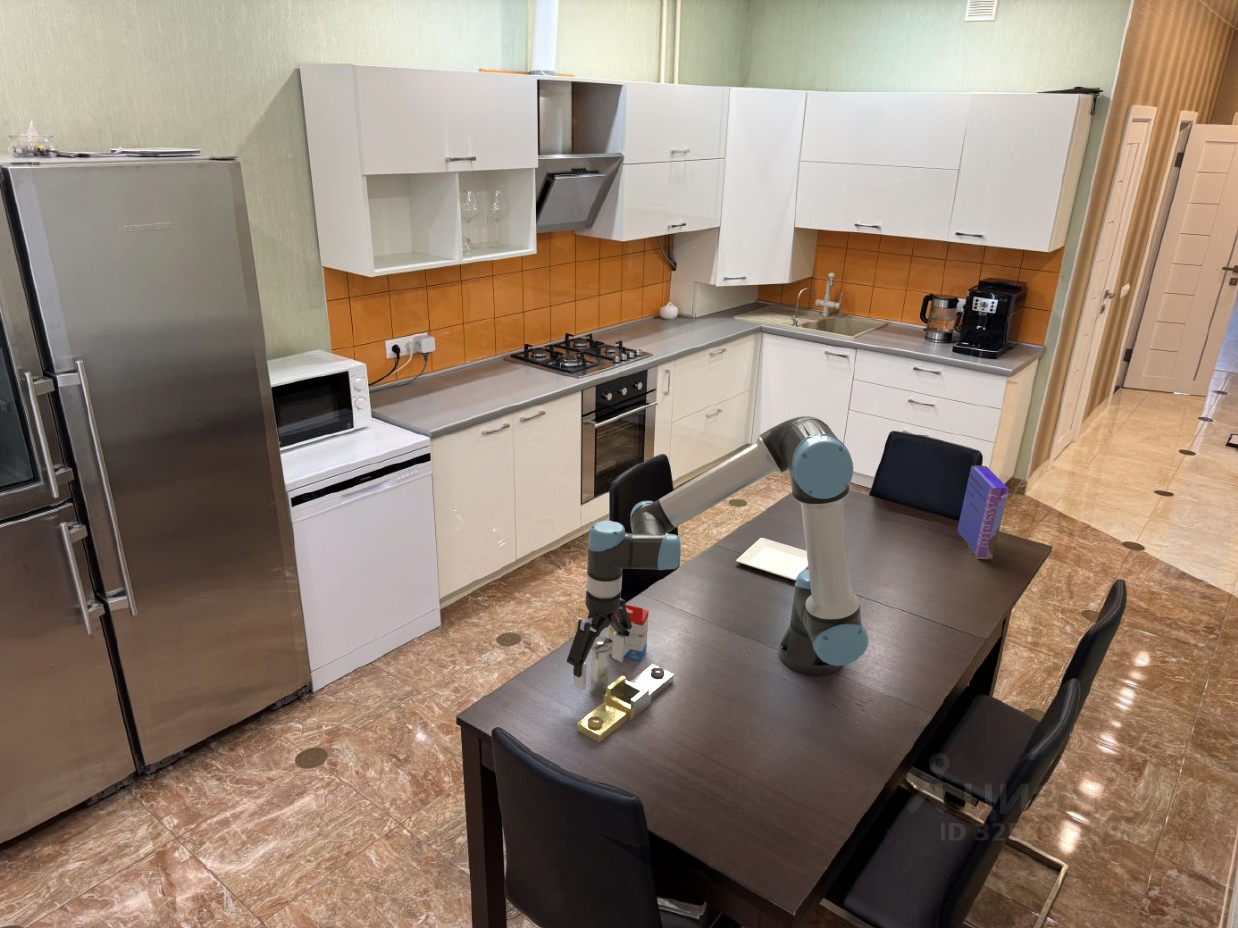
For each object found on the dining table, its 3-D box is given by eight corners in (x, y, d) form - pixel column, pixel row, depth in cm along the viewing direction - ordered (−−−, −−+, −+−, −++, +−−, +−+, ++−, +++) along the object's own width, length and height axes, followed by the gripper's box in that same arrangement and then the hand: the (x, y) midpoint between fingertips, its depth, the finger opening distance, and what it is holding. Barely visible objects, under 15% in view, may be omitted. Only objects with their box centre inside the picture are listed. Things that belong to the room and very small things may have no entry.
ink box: (646, 651, 211) (650, 599, 206) (640, 662, 207) (644, 609, 201) (614, 643, 214) (616, 591, 208) (607, 654, 209) (609, 601, 204)
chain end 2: (675, 682, 200) (677, 666, 198) (633, 718, 188) (634, 701, 186) (649, 670, 204) (650, 653, 202) (606, 703, 192) (607, 687, 190)
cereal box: (992, 560, 264) (1009, 488, 255) (976, 559, 264) (993, 487, 255) (971, 534, 280) (986, 465, 271) (956, 533, 280) (971, 465, 271)
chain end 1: (648, 705, 192) (649, 689, 190) (601, 744, 179) (602, 726, 178) (621, 692, 196) (622, 675, 194) (574, 728, 183) (574, 711, 182)
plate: (817, 560, 259) (818, 554, 258) (794, 585, 244) (795, 579, 244) (760, 542, 268) (761, 536, 267) (734, 566, 253) (735, 560, 252)
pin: (614, 689, 197) (616, 641, 192) (600, 700, 193) (602, 651, 188) (597, 680, 199) (599, 633, 194) (583, 690, 196) (585, 643, 191)
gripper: (624, 563, 197) (619, 642, 206) (551, 606, 179) (549, 691, 187) (651, 574, 193) (644, 654, 201) (579, 620, 175) (576, 706, 183)
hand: (598, 672), depth 194 cm, fingers open, 13 cm apart
